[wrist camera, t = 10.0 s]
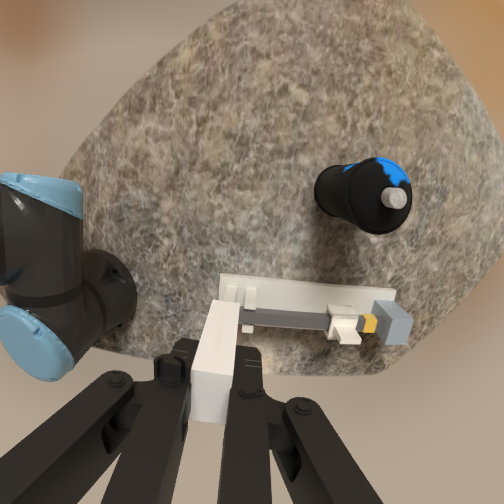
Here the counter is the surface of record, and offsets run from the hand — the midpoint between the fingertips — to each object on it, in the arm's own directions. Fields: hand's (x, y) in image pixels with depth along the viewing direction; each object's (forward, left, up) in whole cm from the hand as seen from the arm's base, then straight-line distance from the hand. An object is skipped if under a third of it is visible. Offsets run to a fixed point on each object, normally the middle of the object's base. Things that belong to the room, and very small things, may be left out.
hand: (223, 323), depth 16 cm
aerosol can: (+14, +8, -30) cm, 34 cm away
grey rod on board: (+12, -11, -30) cm, 34 cm away
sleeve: (+16, -11, -26) cm, 32 cm away
